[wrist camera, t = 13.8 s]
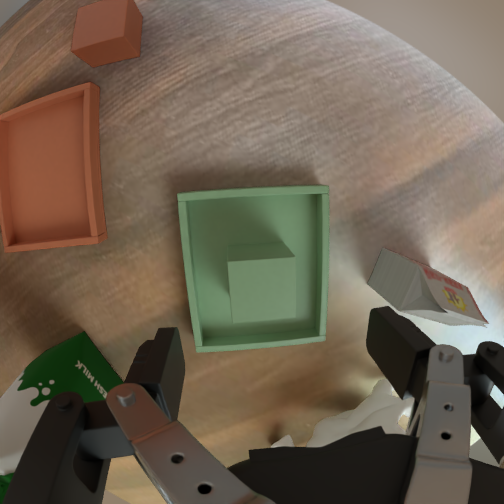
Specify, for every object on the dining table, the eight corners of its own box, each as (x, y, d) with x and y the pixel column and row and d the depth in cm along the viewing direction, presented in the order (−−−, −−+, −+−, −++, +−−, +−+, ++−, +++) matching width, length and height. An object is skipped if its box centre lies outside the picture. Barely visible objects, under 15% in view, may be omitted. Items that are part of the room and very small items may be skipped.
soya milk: (135, 386, 27) (84, 555, 8) (81, 404, 27) (23, 535, 8) (85, 319, 25) (-29, 476, 5) (35, 346, 25) (-60, 466, 6)
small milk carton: (417, 300, 27) (477, 347, 17) (367, 284, 26) (427, 336, 16) (431, 267, 26) (497, 305, 17) (382, 247, 25) (451, 284, 16)
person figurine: (356, 516, 22) (468, 441, 15) (256, 502, 23) (346, 424, 16) (355, 440, 34) (433, 352, 27) (273, 419, 35) (338, 319, 28)
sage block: (227, 245, 24) (226, 261, 19) (283, 241, 24) (295, 256, 19) (231, 297, 25) (231, 323, 20) (284, 293, 25) (295, 317, 21)
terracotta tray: (8, 118, 19) (-4, 116, 17) (100, 87, 20) (90, 81, 18) (16, 248, 22) (5, 253, 20) (107, 238, 23) (98, 243, 21)
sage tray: (181, 192, 23) (176, 193, 21) (321, 184, 23) (329, 185, 21) (198, 340, 26) (196, 352, 24) (319, 330, 27) (325, 341, 25)
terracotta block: (97, 28, 18) (77, 7, 14) (143, 16, 18) (129, -8, 14) (92, 68, 19) (70, 51, 15) (140, 56, 19) (124, 36, 15)
